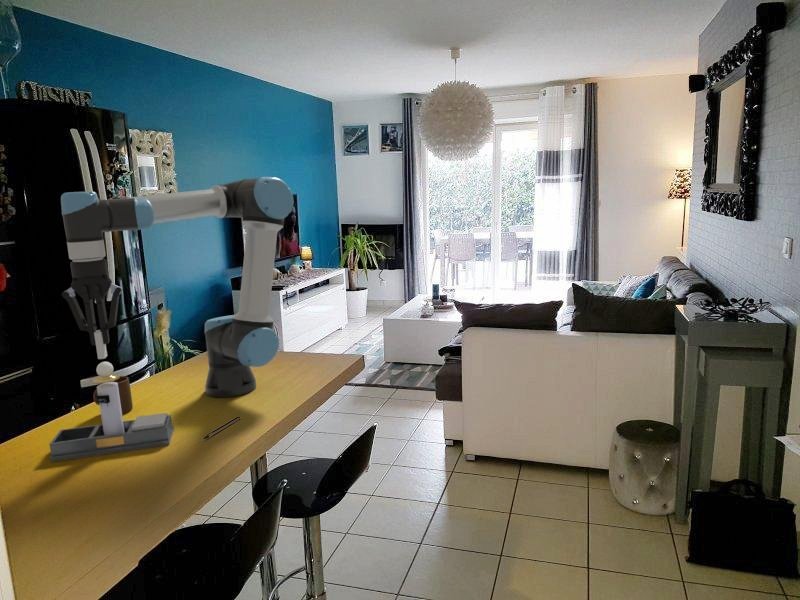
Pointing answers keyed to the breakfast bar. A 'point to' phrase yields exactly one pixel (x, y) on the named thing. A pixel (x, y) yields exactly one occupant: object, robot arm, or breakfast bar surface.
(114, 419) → the perfume bottle
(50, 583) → the breakfast bar surface
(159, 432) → the rack
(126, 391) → the mug
